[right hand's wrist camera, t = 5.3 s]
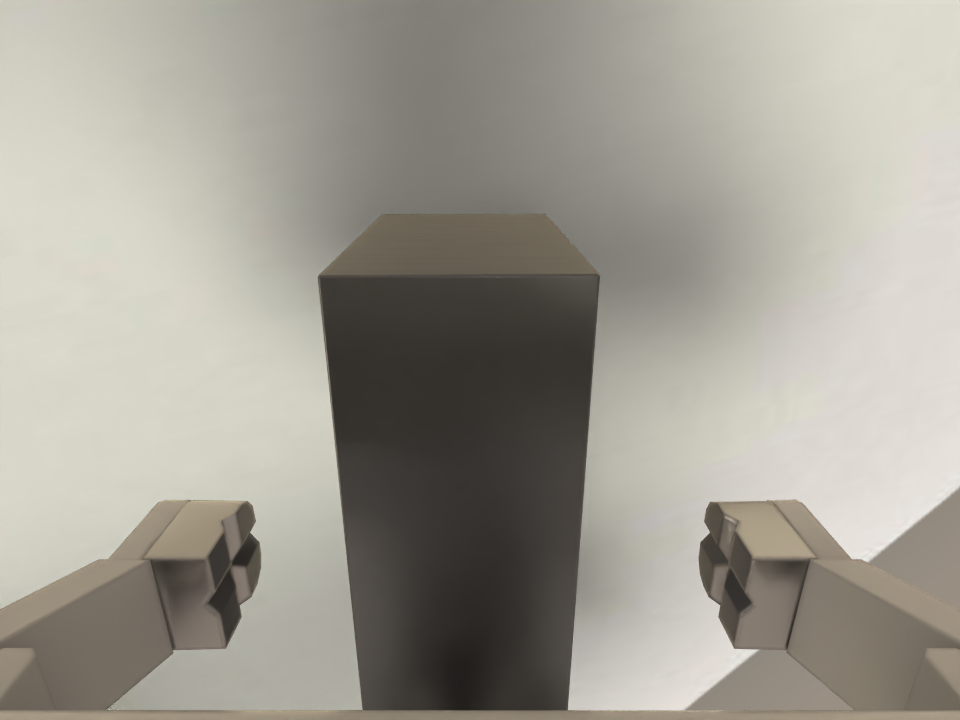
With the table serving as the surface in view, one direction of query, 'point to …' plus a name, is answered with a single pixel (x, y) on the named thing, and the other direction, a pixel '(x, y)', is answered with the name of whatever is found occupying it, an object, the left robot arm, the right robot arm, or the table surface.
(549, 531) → the bar
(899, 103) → the table surface
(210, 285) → the table surface
